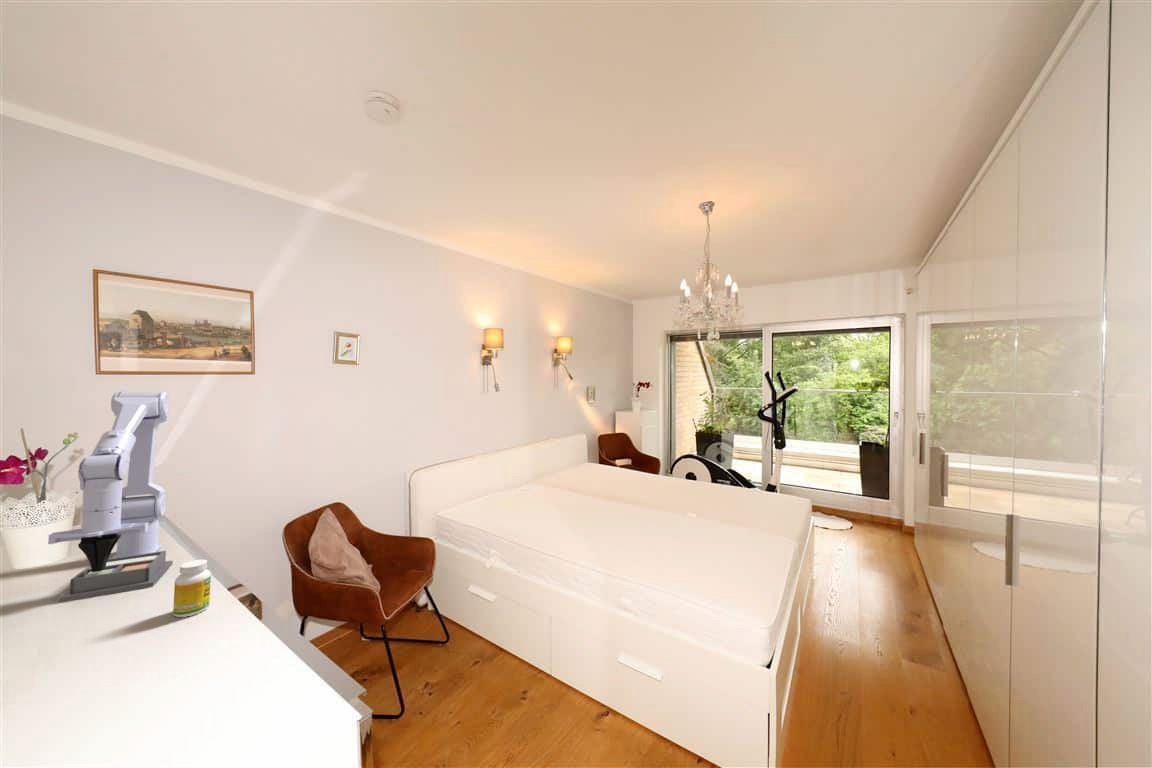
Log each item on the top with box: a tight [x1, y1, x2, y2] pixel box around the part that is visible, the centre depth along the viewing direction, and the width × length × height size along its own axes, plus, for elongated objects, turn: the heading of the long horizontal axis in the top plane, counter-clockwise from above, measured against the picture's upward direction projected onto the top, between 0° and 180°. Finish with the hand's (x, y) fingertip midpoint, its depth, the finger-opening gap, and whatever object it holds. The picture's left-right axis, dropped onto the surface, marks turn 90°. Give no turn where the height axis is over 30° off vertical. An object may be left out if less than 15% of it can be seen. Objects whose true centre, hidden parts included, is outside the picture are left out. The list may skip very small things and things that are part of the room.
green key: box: [84, 568, 116, 577], centre depth 90 cm, size 4×4×2 cm
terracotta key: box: [122, 563, 150, 571], centre depth 93 cm, size 4×4×2 cm
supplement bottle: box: [172, 559, 212, 618], centre depth 82 cm, size 5×5×10 cm
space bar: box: [106, 555, 158, 566], centre depth 96 cm, size 4×10×2 cm, turn 122°
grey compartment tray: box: [58, 550, 173, 603], centre depth 93 cm, size 14×14×4 cm
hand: (98, 570), depth 90 cm, fingers closed
